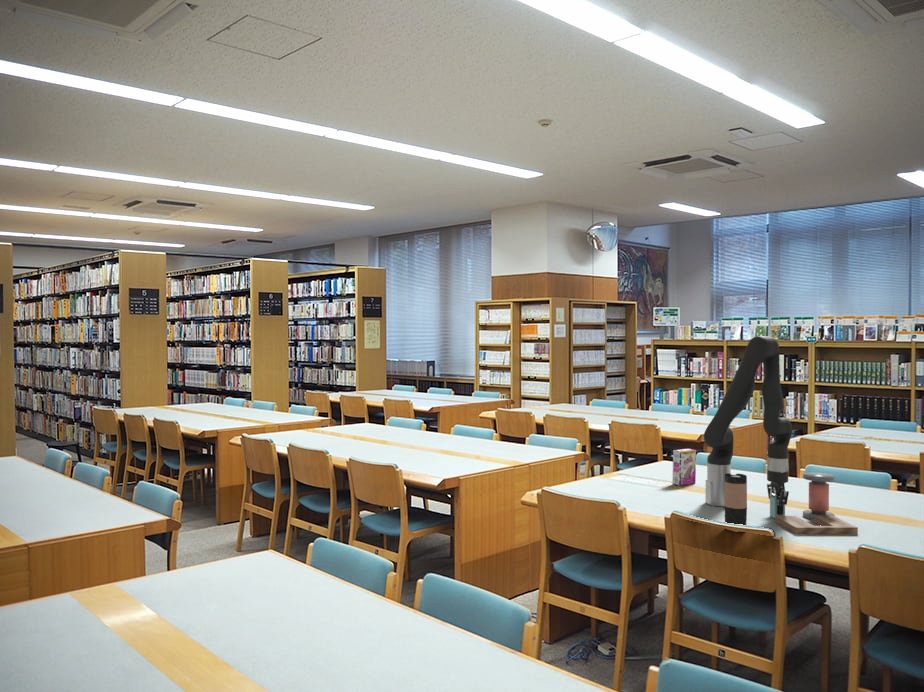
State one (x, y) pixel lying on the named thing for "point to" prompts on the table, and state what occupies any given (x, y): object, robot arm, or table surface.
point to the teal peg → (775, 507)
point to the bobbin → (818, 494)
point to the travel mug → (735, 498)
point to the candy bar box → (684, 467)
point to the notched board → (827, 526)
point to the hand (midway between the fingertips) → (777, 512)
